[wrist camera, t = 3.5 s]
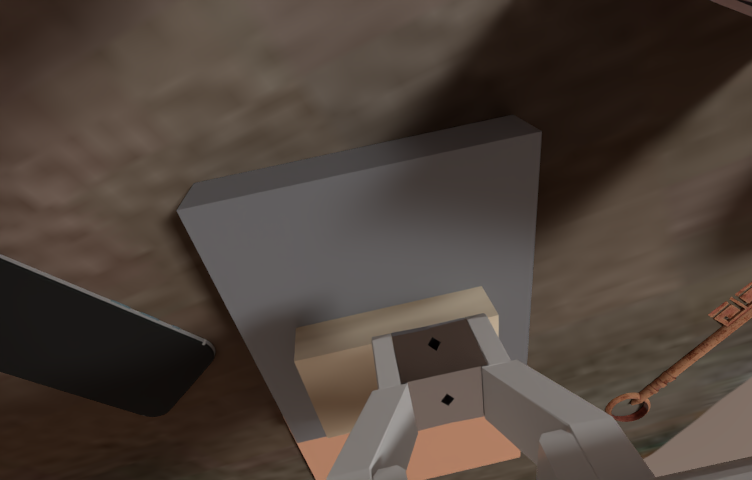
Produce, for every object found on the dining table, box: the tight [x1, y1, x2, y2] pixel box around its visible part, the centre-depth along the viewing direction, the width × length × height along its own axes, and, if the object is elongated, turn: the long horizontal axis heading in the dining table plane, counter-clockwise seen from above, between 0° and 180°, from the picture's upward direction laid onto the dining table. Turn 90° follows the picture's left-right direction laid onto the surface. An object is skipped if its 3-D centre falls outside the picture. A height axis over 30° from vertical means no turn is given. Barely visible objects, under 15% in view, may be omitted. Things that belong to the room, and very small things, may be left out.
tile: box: [294, 286, 499, 438], centre depth 19 cm, size 6×9×2 cm, turn 100°
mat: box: [283, 417, 520, 480], centre depth 28 cm, size 12×16×1 cm
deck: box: [176, 115, 542, 443], centre depth 20 cm, size 16×14×2 cm
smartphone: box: [0, 254, 215, 417], centre depth 20 cm, size 7×1×15 cm
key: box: [605, 282, 752, 422], centre depth 28 cm, size 6×1×15 cm
